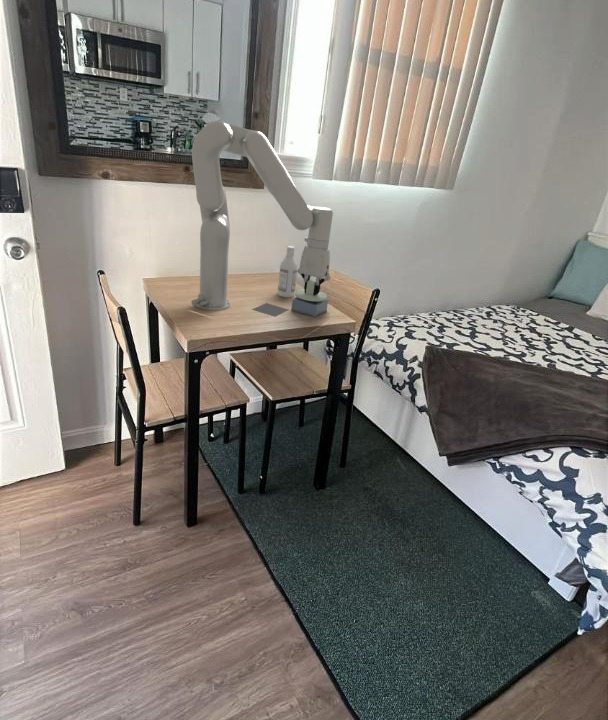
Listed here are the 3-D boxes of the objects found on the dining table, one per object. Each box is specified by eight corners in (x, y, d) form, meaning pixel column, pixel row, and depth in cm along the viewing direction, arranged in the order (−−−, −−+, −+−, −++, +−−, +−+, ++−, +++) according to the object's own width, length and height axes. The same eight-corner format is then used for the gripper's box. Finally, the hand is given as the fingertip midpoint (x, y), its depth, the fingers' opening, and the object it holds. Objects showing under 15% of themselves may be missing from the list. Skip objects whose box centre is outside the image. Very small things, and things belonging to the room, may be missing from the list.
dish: (314, 318, 165) (316, 305, 163) (291, 311, 169) (292, 298, 167) (326, 311, 173) (328, 299, 171) (303, 305, 177) (305, 293, 175)
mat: (275, 317, 161) (275, 316, 161) (251, 310, 165) (251, 309, 164) (288, 310, 169) (289, 309, 169) (266, 304, 173) (266, 302, 173)
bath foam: (292, 293, 189) (297, 245, 180) (296, 298, 183) (301, 249, 175) (275, 292, 187) (280, 244, 178) (279, 298, 181) (284, 248, 173)
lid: (318, 303, 161) (320, 288, 159) (289, 295, 166) (290, 280, 163) (332, 296, 171) (334, 281, 168) (304, 288, 175) (306, 274, 173)
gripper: (292, 240, 160) (287, 290, 168) (334, 250, 154) (326, 301, 162) (302, 237, 166) (297, 286, 174) (343, 247, 160) (335, 296, 168)
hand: (311, 292), depth 168 cm, fingers closed on lid, 3 cm apart
